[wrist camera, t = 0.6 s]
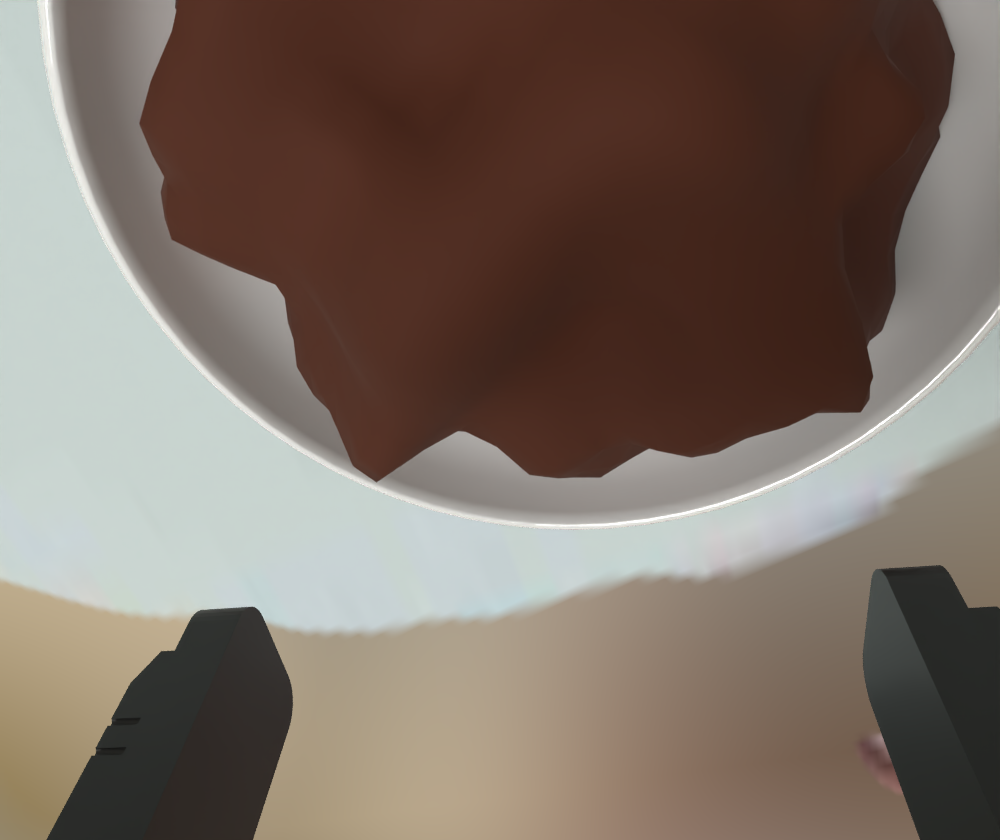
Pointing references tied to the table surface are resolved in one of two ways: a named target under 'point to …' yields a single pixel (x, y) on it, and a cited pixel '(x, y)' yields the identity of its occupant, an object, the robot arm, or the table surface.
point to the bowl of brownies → (549, 229)
